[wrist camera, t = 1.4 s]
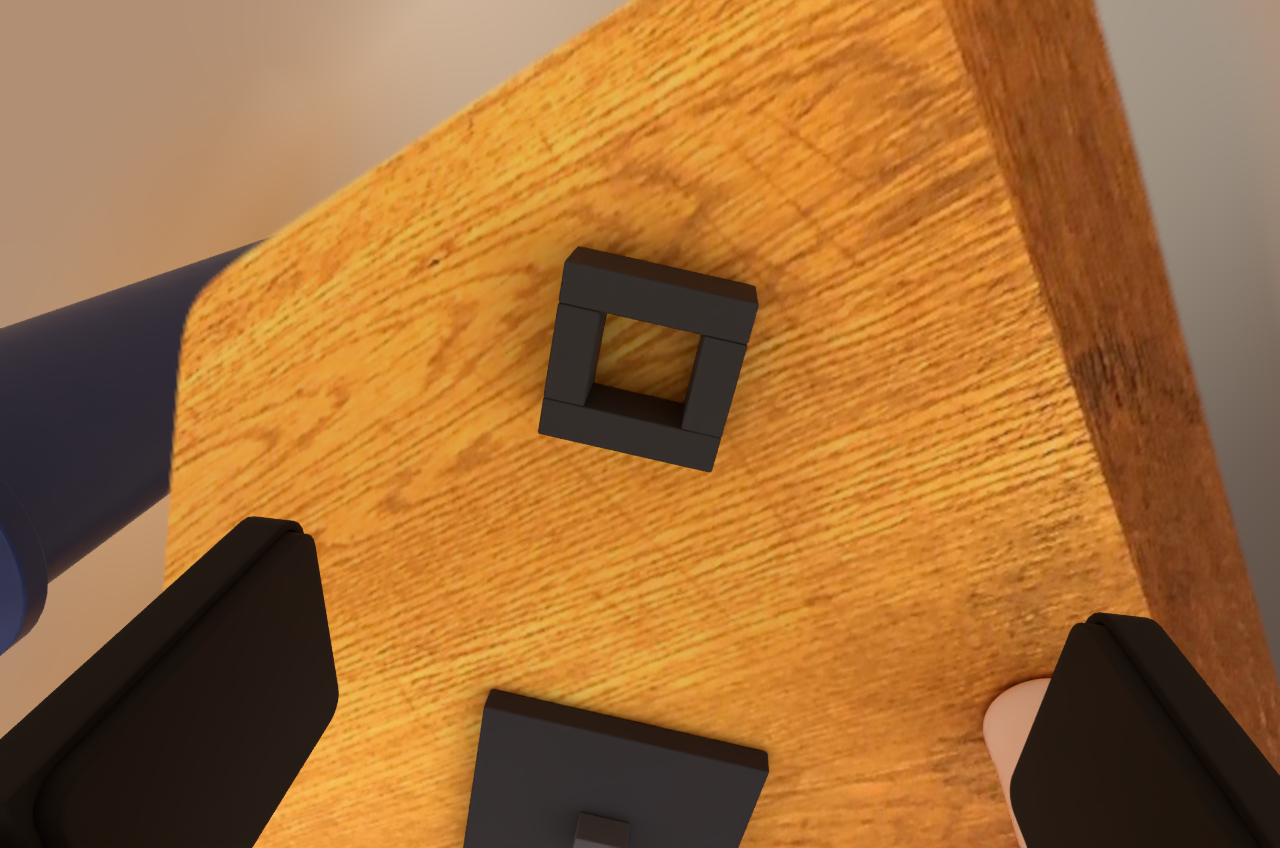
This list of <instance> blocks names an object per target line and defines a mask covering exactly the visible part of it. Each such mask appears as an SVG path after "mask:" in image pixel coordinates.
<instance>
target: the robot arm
mask: <svg viewBox="0 0 1280 848" xmlns="http://www.w3.org/2000/svg"><path fill="white" fill-rule="evenodd" d="M338 696H339V691H338V683H337V677H336V670H335V664H334V658H333V652H332V646H331V639H330V633H329V627H328V621H327V614H326V608H325V602H324V596H323V590H322V583H321V577H320V571H319V565H318V558H317V552H316V546H315V542H314V539H313V538H312V536H311V535H308V534H304V532H303V528H302V527H301V526H300V524H299V523H297V522H295V521H291V520H282V519H273V518H264V517H255V516H253V517H247V518H246V519H244V520H243V521H241V522H240V523H239V524H238V525H237V526H236V527H234V528H233V529H232V530H231V531H230V532H229V533H228V534H227V535H226V536H224V537H223V538H222V539H221V540H220V541H219V542H218V543H217V544H216V545H215V546H213V547H212V548H211V549H210V550H209V551H208V552H207V553H206V554H205V555H203V556H202V557H201V558H200V559H199V560H198V561H197V562H196V563H195V564H194V565H192V566H191V567H190V568H189V569H188V570H187V571H186V572H185V573H184V574H182V575H181V576H180V577H179V578H178V579H177V580H176V581H175V582H174V583H173V584H171V585H170V586H169V587H168V588H167V589H166V590H165V591H164V592H163V593H161V594H160V595H159V596H158V597H157V598H156V599H155V600H154V601H153V602H152V603H150V604H149V605H148V606H147V607H146V608H145V609H144V610H143V611H142V612H141V613H139V614H138V615H137V616H136V617H135V618H134V619H133V620H132V621H131V622H130V623H128V624H127V625H126V626H125V627H124V628H123V629H122V630H121V631H120V632H118V633H117V634H116V635H115V636H114V637H113V638H112V639H111V640H109V641H108V642H107V643H106V644H105V645H104V646H103V647H102V648H101V649H100V650H98V651H97V652H96V653H95V654H94V655H93V656H92V657H91V658H90V659H89V660H87V661H86V662H85V663H84V664H83V665H82V666H81V667H80V668H79V669H77V670H76V671H75V672H74V673H73V674H72V675H71V676H70V677H69V678H67V679H66V680H65V681H64V682H63V683H62V684H61V685H60V686H59V687H58V688H56V689H55V690H54V691H53V692H52V693H51V694H50V695H49V696H48V697H46V698H45V699H44V700H43V701H42V702H41V703H40V704H39V705H38V706H37V707H35V708H34V709H33V710H32V711H31V712H30V713H29V714H28V715H27V716H25V718H23V719H22V720H21V721H20V722H19V723H18V724H17V725H16V726H15V727H13V728H12V729H11V730H10V731H9V732H8V733H7V734H6V735H4V736H3V737H2V738H1V739H0V848H252V847H253V846H254V844H255V842H256V841H257V839H258V838H259V836H260V834H261V833H262V831H263V829H264V828H265V826H266V825H267V823H268V821H269V820H270V818H271V817H272V815H273V813H274V812H275V810H276V809H277V807H278V805H279V804H280V802H281V800H282V799H283V797H284V796H285V794H286V792H287V791H288V789H289V788H290V786H291V784H292V783H293V781H294V780H295V778H296V776H297V775H298V773H299V771H300V770H301V768H302V767H303V765H304V763H305V762H306V760H307V759H308V757H309V755H310V754H311V752H312V750H313V749H314V747H315V746H316V744H317V742H318V741H319V739H320V738H321V736H322V734H323V733H324V731H325V730H326V728H327V726H328V725H329V723H330V721H331V719H332V718H333V716H334V713H335V710H336V707H337V703H338ZM1010 801H1011V806H1012V810H1013V813H1014V816H1015V818H1016V821H1017V823H1018V826H1019V828H1020V831H1021V833H1022V836H1023V839H1024V841H1025V844H1026V846H1027V848H1280V775H1279V774H1278V773H1277V772H1276V770H1275V769H1274V768H1273V767H1272V765H1271V764H1270V763H1269V762H1268V760H1267V759H1266V758H1265V757H1264V755H1263V754H1262V753H1261V752H1260V750H1259V749H1258V748H1257V747H1256V745H1255V744H1254V743H1253V742H1252V740H1251V739H1250V738H1249V737H1248V735H1247V734H1246V733H1245V732H1244V730H1243V729H1242V728H1241V727H1240V725H1239V724H1238V723H1237V721H1236V720H1235V719H1234V718H1233V716H1232V715H1231V714H1230V713H1229V711H1228V710H1227V709H1226V708H1225V706H1224V705H1223V704H1222V703H1221V701H1220V700H1219V699H1218V698H1217V696H1216V695H1215V694H1214V693H1213V691H1212V690H1211V689H1210V688H1209V686H1208V685H1207V684H1206V683H1205V681H1204V680H1203V679H1202V678H1201V676H1200V675H1199V674H1198V673H1197V671H1196V670H1195V669H1194V667H1193V666H1192V665H1191V664H1190V662H1189V661H1188V660H1187V659H1186V657H1185V656H1184V655H1183V654H1182V652H1181V651H1180V650H1179V649H1178V647H1177V646H1176V645H1175V644H1174V642H1173V641H1172V640H1171V639H1170V637H1169V636H1168V635H1167V634H1166V632H1165V631H1164V630H1163V629H1162V627H1161V626H1160V625H1159V624H1158V623H1156V622H1155V621H1154V620H1152V619H1149V618H1145V617H1136V616H1127V615H1118V614H1109V613H1101V612H1099V613H1094V614H1092V615H1091V616H1090V617H1089V618H1088V619H1087V621H1086V622H1085V623H1077V624H1076V625H1074V626H1073V627H1072V629H1071V631H1070V633H1069V635H1068V638H1067V640H1066V643H1065V645H1064V648H1063V650H1062V653H1061V655H1060V658H1059V660H1058V663H1057V665H1056V668H1055V670H1054V673H1053V675H1052V678H1051V680H1050V682H1049V685H1048V687H1047V690H1046V692H1045V695H1044V697H1043V700H1042V702H1041V705H1040V707H1039V710H1038V712H1037V715H1036V717H1035V720H1034V722H1033V725H1032V727H1031V730H1030V732H1029V735H1028V737H1027V740H1026V742H1025V745H1024V747H1023V750H1022V752H1021V755H1020V757H1019V760H1018V762H1017V764H1016V767H1015V769H1014V772H1013V774H1012V777H1011V781H1010Z"/></svg>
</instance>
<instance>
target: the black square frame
mask: <svg viewBox="0 0 1280 848" xmlns="http://www.w3.org/2000/svg"><path fill="white" fill-rule="evenodd" d="M758 306H759V305H758V299H757V293H756V287H755V286H753V285H748V284H744V283H739V282H735V281H731V280H726V279H722V278H717V277H713V276H709V275H704V274H700V273H695V272H691V271H686V270H682V269H678V268H673V267H669V266H664V265H660V264H656V263H651V262H647V261H642V260H638V259H633V258H629V257H625V256H620V255H616V254H611V253H607V252H602V251H598V250H594V249H589V248H585V247H580V246H579V247H577V248H576V249H575V250H574V251H573V253H572V254H571V255H570V256H569V257H568V258H567V259H566V261H565V263H564V270H563V276H562V282H561V289H560V295H559V304H558V308H557V314H556V320H555V327H554V333H553V339H552V346H551V352H550V359H549V365H548V371H547V378H546V384H545V390H544V398H543V403H542V410H541V416H540V422H539V429H538V433H539V434H543V435H547V436H552V437H556V438H560V439H565V440H569V441H574V442H578V443H582V444H587V445H591V446H596V447H600V448H604V449H609V450H613V451H618V452H622V453H626V454H631V455H635V456H640V457H644V458H648V459H653V460H657V461H662V462H666V463H670V464H675V465H679V466H683V467H688V468H692V469H697V470H701V471H705V472H711V471H712V469H713V465H714V462H715V458H716V455H717V451H718V448H719V444H720V441H721V437H722V434H723V430H724V427H725V423H726V420H727V416H728V413H729V409H730V406H731V402H732V399H733V395H734V392H735V388H736V385H737V381H738V377H739V374H740V370H741V367H742V363H743V360H744V356H745V353H746V349H747V343H748V342H749V338H750V334H751V331H752V327H753V324H754V320H755V317H756V313H757V310H758ZM607 313H609V314H613V315H617V316H622V317H626V318H631V319H635V320H639V321H644V322H648V323H653V324H657V325H661V326H666V327H670V328H675V329H679V330H684V331H688V332H692V333H697V334H701V337H700V341H699V345H698V349H697V353H696V357H695V361H694V365H693V369H692V373H691V377H690V381H689V385H688V389H687V393H686V397H685V401H684V404H683V403H678V402H674V401H670V400H665V399H661V398H656V397H652V396H648V395H643V394H639V393H634V392H630V391H626V390H621V389H617V388H612V387H608V386H604V385H599V384H595V383H593V382H594V379H595V373H596V368H597V363H598V357H599V352H600V347H601V341H602V336H603V331H604V325H605V320H606V315H607Z"/></svg>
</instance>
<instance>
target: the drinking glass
mask: <svg viewBox="0 0 1280 848" xmlns="http://www.w3.org/2000/svg"><path fill="white" fill-rule="evenodd" d="M1050 680H1051V678H1043V679H1035V680H1030V681H1026V682H1023V683H1020V684H1017V685H1015V686H1013V687H1011V688H1009V689H1007V690H1006V691H1004V692H1003V693H1001V694H1000V695H999V696H998V697H997V698H996V699H995V700H994V701H993V702H992V703H991V705H990V706H989V708H988V710H987V712H986V714H985V717H984V721H983V736H984V740H985V743H986V746H987V748H988V751H989V753H990V756H991V758H992V761H993V763H994V766H995V768H996V771H997V774H998V778H999V781H1000V784H1001V787H1002V790H1003V794H1004V797H1005V800H1006V804H1007V807H1008V810H1009V814H1010V817H1011V820H1012V824H1013V827H1014V830H1015V834H1016V837H1017V840H1018V844H1019V847H1020V848H1027V846H1026V844H1025V841H1024V839H1023V836H1022V833H1021V831H1020V828H1019V826H1018V823H1017V821H1016V818H1015V816H1014V813H1013V810H1012V806H1011V801H1010V781H1011V777H1012V774H1013V772H1014V769H1015V767H1016V764H1017V762H1018V760H1019V757H1020V755H1021V752H1022V750H1023V747H1024V745H1025V742H1026V740H1027V737H1028V735H1029V732H1030V730H1031V727H1032V725H1033V722H1034V720H1035V717H1036V715H1037V712H1038V710H1039V707H1040V705H1041V702H1042V700H1043V697H1044V695H1045V692H1046V690H1047V687H1048V685H1049V682H1050Z"/></svg>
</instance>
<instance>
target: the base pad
mask: <svg viewBox="0 0 1280 848" xmlns="http://www.w3.org/2000/svg"><path fill="white" fill-rule="evenodd" d="M768 773H769V766H768V754H767V753H766V752H763V751H758V750H754V749H750V748H745V747H741V746H737V745H732V744H728V743H724V742H719V741H715V740H710V739H706V738H702V737H697V736H693V735H689V734H684V733H680V732H676V731H671V730H667V729H663V728H658V727H654V726H649V725H645V724H641V723H636V722H632V721H628V720H623V719H619V718H615V717H610V716H606V715H602V714H597V713H593V712H588V711H584V710H580V709H575V708H571V707H567V706H562V705H558V704H554V703H549V702H545V701H541V700H536V699H532V698H527V697H523V696H519V695H514V694H510V693H506V692H501V691H497V690H491V691H490V693H489V695H488V698H487V701H486V703H485V706H484V711H483V718H482V725H481V732H480V738H479V745H478V752H477V759H476V765H475V772H474V779H473V786H472V792H471V799H470V806H469V813H468V819H467V826H466V833H465V840H464V846H463V848H738V847H739V844H740V842H741V839H742V837H743V835H744V832H745V830H746V827H747V825H748V822H749V820H750V817H751V815H752V813H753V810H754V808H755V805H756V803H757V800H758V798H759V795H760V793H761V790H762V788H763V786H764V783H765V781H766V778H767V776H768Z"/></svg>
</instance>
